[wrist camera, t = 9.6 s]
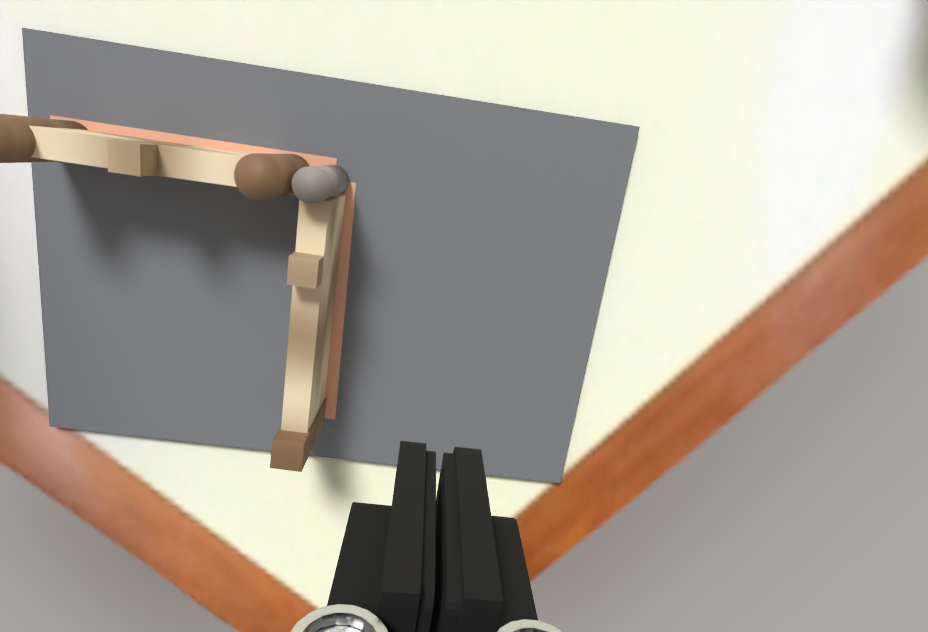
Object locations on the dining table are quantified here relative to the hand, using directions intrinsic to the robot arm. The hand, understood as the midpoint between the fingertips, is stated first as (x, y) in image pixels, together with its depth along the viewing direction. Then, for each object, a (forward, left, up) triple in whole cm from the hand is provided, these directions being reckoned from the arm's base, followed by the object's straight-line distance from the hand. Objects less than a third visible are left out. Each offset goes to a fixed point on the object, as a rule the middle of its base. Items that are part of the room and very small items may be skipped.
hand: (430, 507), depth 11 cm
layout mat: (-6, 0, -18) cm, 19 cm away
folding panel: (-6, -1, -17) cm, 18 cm away
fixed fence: (-13, +5, -18) cm, 22 cm away
